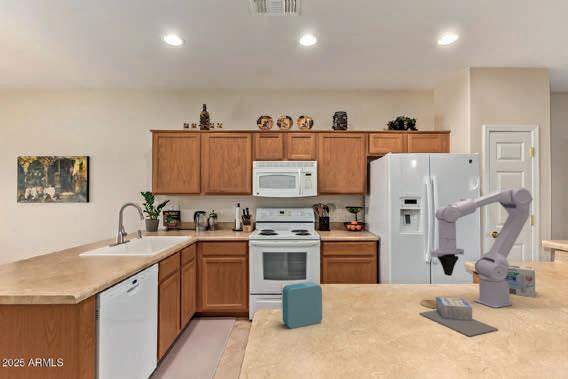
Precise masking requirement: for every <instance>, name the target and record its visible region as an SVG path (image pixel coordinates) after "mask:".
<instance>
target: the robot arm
mask: <svg viewBox="0 0 568 379" xmlns="http://www.w3.org/2000/svg"><path fill="white" fill-rule="evenodd" d="M533 200H534V199H533V196H532V195H531V193H530V190H528V189H527V188H525V187H516V188H515V187H514V188H506V187H505V188H501V189H497V190H493V191H491V192H489V193H486V194H484V195H482V196H480V197H476V198H474V199H472V198H466V197H463V198H460V199H459V201H457V202H456V201H455V202H454V203H452V202H450V203H448V204H447V206H440V207H438V209H437V210H436V212H435V213H434V216H435V218H436V220H437V221H438V223H437V224H438V227H437V228H438V248H437V249H435V250H430V257H432V258H437V259H438V260H439V262H440V264H441V267H442V270H443V273H444V275H446V276H448V277H450V276H453V271H454V268H455V265H456V263H457V262H458V260H459V256H457V255H465V249H462V248H457V226H456V224H457V221H458V220H459V219H460V218H463V217H466V216H468V215H471V214H474V213H475V212H476V211H477V209H479V208H481V207H484V206H487V205H491V204H494V203H499V204H500V205H501V206H502V208H503V209H505V212H507V214H508V216H507V219H506V220H505V222H504V224H503V225H502V227H501V229H500V231H499V232H498V235H497V237H496V238H495V240H494V242H493V244H492V245H491V248H490V249H489V251H487V252H485V253H483V254H482V255H481V257H480V258H479V259H477V260H476V261H475V263H474V270H475V272H476V274H477V275H478V281H479V284H478V286H479V287H478V288H479V298H477V299H474V300H473V301H474V302H476V303H479V304H481V305H485V306H488V307H491V308H494V309H496V308H502V307H506V306H507V307H508V306H512V305H513V303H512V302H511V300H510V294H509V285H508V283H507V282H506V281H505V280H504V279H505V278H506V276H507V269H508V267H509V265H510V263H509V261H508V260H507V258H508V256H509V255H510V252H511V250H512V249H513V247H514V245H515V243H516V241H517V239H518V238H519V236H520V233H521V232H522V230H523V228H524V227H525V225H526V223H527V222H528V219H529V217H530V206H531V203H532V201H533Z"/></svg>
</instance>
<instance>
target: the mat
mask: <svg viewBox="0 0 568 379" xmlns="http://www.w3.org/2000/svg"><path fill="white" fill-rule="evenodd" d="M418 315H420V316H421V317H424V318H427V319H428V320H431V321H434V322H435V323H438V324H440V325H442V326H444V327H446V328H448V329H451V330H453V331H455V332H457V333H459V334H461V335H463V336H466V337H468V338H472V337H476V336H479V335H480V336H481V335H485V334H488V333H492V332H496V331H499V328H497V327H494V326H492V325H489V324H486V323H485V322H482V321H479V320H477V319H474V318H472V320H458V319H445V318H443V317H442V316H441V314H440V313H439V312H438V311H437V309H433V310H428V311H423V312H419V314H418Z"/></svg>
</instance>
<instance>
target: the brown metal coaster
mask: <svg viewBox="0 0 568 379" xmlns="http://www.w3.org/2000/svg"><path fill="white" fill-rule="evenodd" d="M420 305H421V306H424V307H425V308H428V309H433V310H437V309H436V299H435V300H434V299H423V300H421V301H420Z"/></svg>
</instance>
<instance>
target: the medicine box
mask: <svg viewBox="0 0 568 379" xmlns="http://www.w3.org/2000/svg"><path fill="white" fill-rule="evenodd" d="M435 301H436V309H435V310H437V311H438V312H439V313H440V314H441V316H442V317H443V318H445V319H458V320H472V319H473V306H471V305H470V304H469V303H468V302H467V301H466V300H464V299H463V298H455V297H453V298H452V297H440V296H438V297H435Z"/></svg>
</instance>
